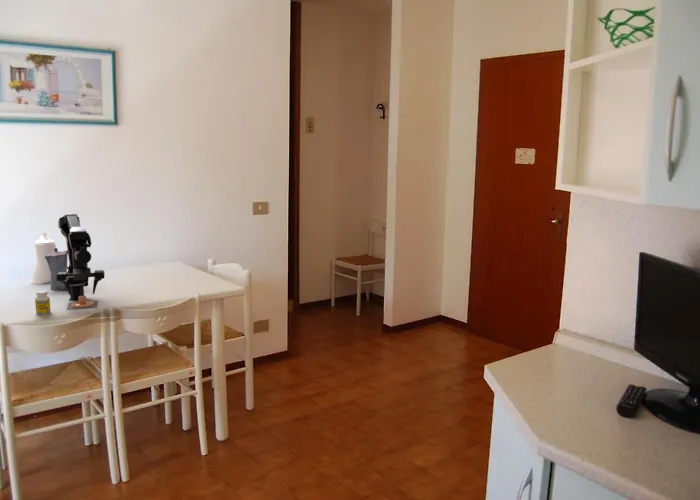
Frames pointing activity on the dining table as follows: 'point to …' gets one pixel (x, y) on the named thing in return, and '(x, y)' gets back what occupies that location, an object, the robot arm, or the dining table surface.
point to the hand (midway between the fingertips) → (82, 294)
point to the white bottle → (43, 260)
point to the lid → (82, 303)
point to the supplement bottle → (42, 303)
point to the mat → (83, 308)
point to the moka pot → (57, 267)
